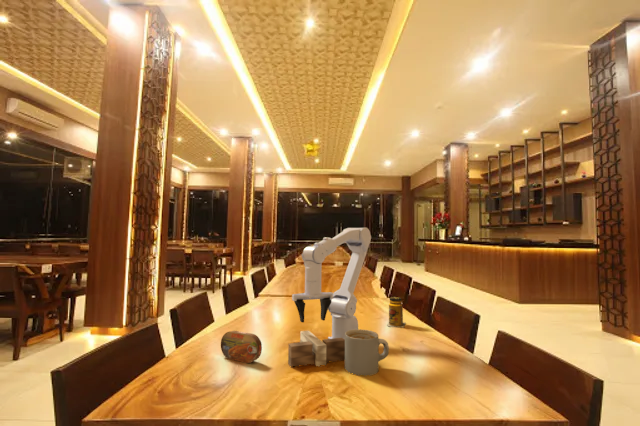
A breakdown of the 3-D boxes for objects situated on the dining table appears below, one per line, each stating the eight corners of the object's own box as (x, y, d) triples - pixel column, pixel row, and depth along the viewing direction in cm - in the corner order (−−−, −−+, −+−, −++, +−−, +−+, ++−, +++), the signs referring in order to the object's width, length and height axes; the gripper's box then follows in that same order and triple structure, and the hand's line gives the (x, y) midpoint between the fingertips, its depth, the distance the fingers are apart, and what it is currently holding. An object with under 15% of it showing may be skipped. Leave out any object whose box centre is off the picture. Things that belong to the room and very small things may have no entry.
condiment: (386, 326, 142) (386, 298, 143) (389, 321, 150) (389, 295, 151) (403, 328, 140) (403, 299, 141) (405, 323, 148) (405, 296, 149)
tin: (219, 356, 104) (220, 329, 105) (226, 353, 107) (227, 327, 108) (256, 366, 97) (257, 337, 98) (263, 362, 100) (263, 334, 101)
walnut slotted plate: (341, 356, 106) (341, 337, 106) (345, 359, 103) (345, 340, 103) (288, 363, 99) (288, 343, 100) (291, 367, 96) (291, 346, 97)
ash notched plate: (308, 348, 113) (308, 330, 114) (326, 365, 98) (326, 344, 99) (300, 349, 112) (300, 331, 112) (316, 366, 97) (317, 346, 98)
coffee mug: (346, 375, 91) (346, 339, 92) (343, 361, 101) (343, 329, 102) (393, 376, 91) (393, 339, 92) (386, 362, 101) (386, 329, 102)
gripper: (296, 283, 106) (296, 325, 105) (336, 281, 112) (336, 321, 111) (290, 280, 113) (289, 320, 112) (328, 278, 118) (328, 316, 117)
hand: (312, 320), depth 112 cm, fingers open, 7 cm apart
